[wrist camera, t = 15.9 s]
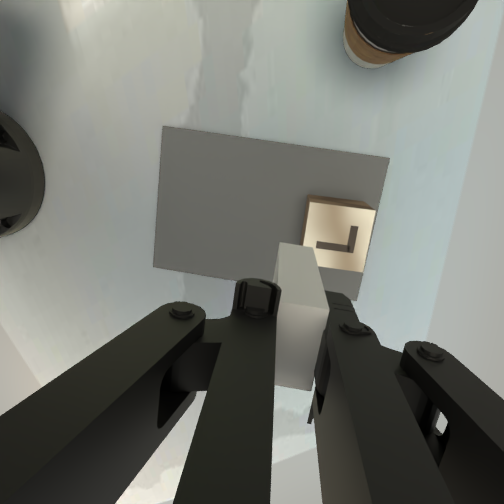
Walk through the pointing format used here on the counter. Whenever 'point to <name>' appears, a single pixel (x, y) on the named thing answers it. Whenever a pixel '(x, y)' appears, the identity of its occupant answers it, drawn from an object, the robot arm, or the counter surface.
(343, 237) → the walnut cube
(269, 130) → the counter surface
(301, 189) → the rubber mat
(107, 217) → the counter surface
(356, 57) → the coffee cup
